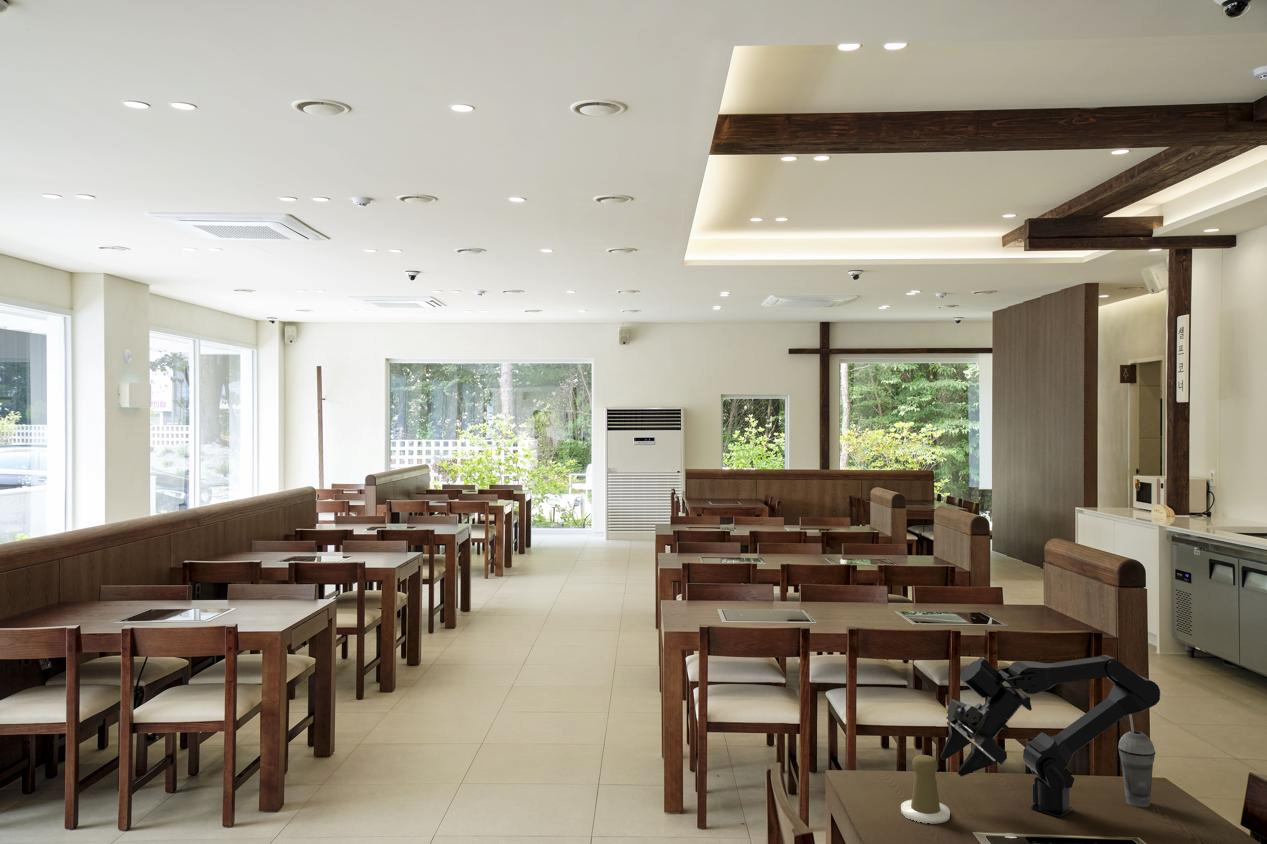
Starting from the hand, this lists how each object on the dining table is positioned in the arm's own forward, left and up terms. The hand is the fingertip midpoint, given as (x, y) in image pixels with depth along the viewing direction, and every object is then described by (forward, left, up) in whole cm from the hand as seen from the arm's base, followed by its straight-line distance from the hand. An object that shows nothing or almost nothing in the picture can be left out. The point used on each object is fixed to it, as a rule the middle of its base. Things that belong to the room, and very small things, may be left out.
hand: (950, 766), depth 197 cm
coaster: (+3, +5, -10) cm, 11 cm away
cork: (+3, +5, -9) cm, 11 cm away
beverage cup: (-23, -36, -10) cm, 44 cm away
